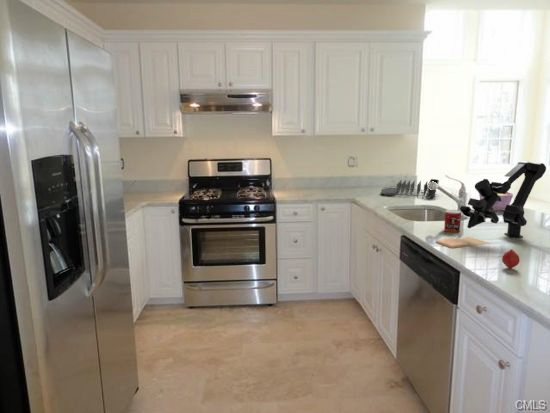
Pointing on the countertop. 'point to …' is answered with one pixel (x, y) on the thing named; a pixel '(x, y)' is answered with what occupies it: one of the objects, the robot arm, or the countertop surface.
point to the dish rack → (404, 186)
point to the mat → (472, 241)
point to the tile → (452, 243)
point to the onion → (510, 259)
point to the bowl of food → (504, 201)
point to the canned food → (452, 220)
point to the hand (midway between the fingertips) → (468, 227)
